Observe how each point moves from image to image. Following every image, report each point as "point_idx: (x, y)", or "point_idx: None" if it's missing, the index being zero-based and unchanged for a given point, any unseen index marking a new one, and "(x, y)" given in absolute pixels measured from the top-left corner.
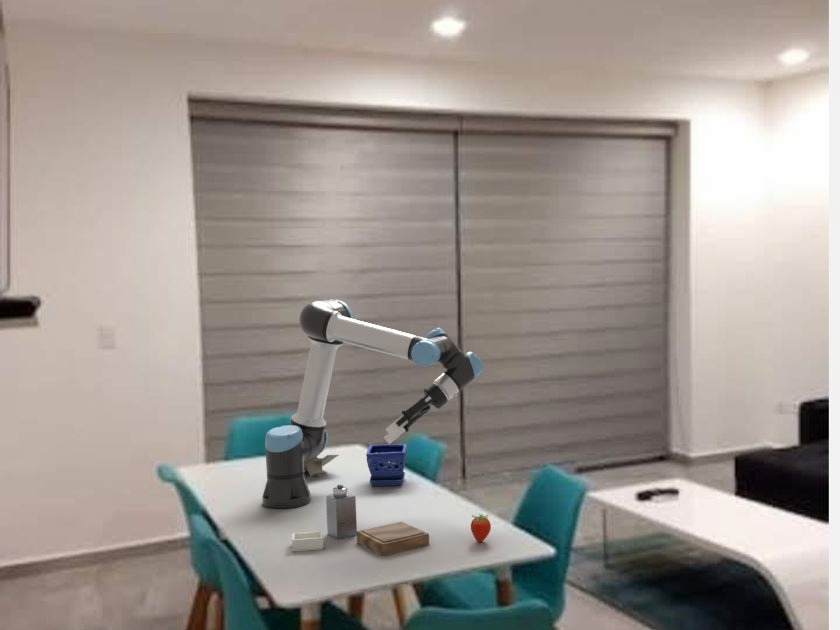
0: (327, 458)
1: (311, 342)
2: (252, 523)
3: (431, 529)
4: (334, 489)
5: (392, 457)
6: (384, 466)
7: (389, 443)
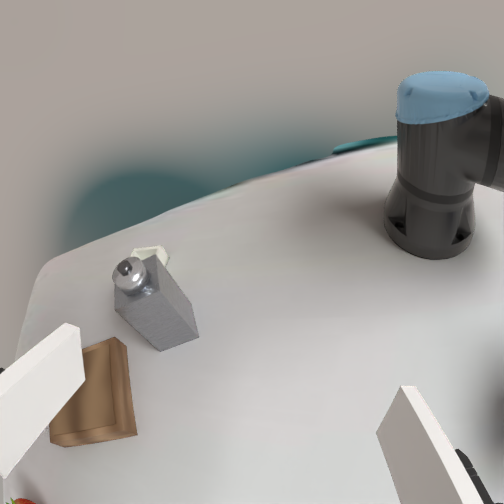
0: None
1: None
2: (301, 195)
3: (129, 493)
4: (126, 259)
5: None
6: None
7: (376, 432)
